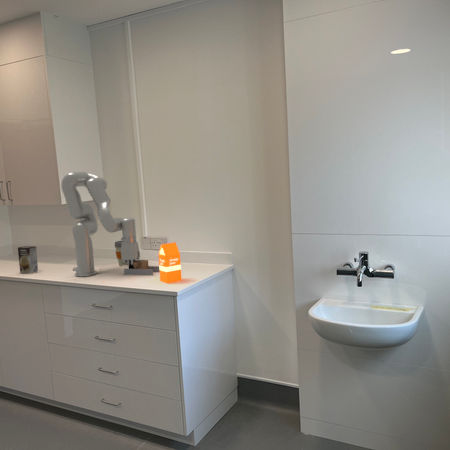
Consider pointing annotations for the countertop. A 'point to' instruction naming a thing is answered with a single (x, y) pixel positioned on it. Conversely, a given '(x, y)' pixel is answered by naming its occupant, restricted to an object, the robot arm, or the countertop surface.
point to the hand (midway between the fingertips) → (131, 271)
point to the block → (141, 264)
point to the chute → (142, 271)
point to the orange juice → (169, 263)
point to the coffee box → (28, 259)
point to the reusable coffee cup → (119, 253)
